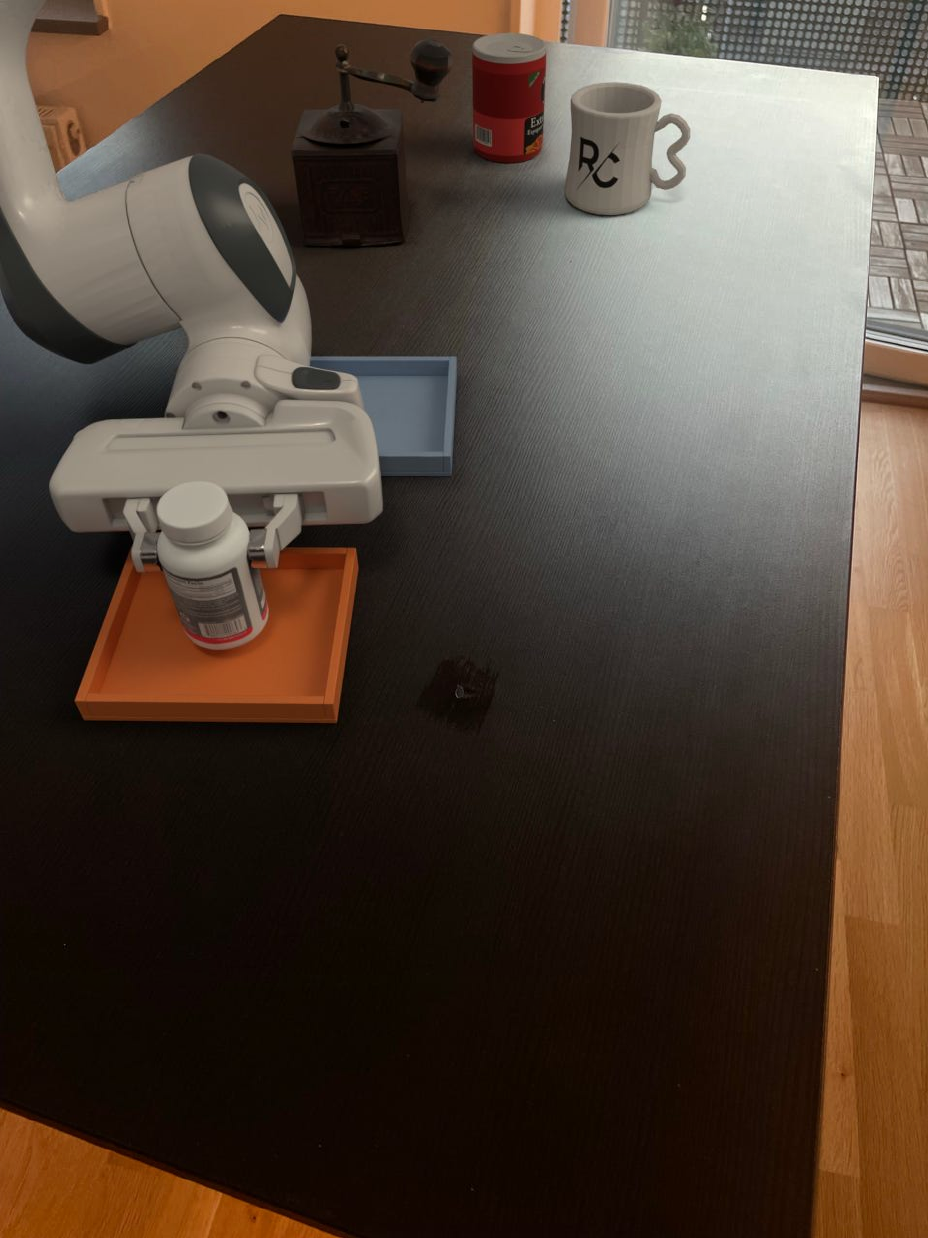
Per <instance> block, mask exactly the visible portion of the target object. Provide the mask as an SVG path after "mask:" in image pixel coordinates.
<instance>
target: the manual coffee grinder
mask: <svg viewBox="0 0 928 1238" xmlns="http://www.w3.org/2000/svg"><path fill="white" fill-rule="evenodd" d="M334 55H335V57H336V59H337V60H336V62H335V64H334V65H335V66H334V70H335V71H336V72H338V78H339V87H340V89H339V91H340V103H339V104H337V105H334V106H332V107H330V108H328V109H303V112H302V113H301V116H300V119H299V122H298V125H297V128H296V132H295V135H294V137H293V140H292V141H293V142H292V145H291V148H290V152H291V159H292V164H293V171H294V179H295V186H296V193H297V199H298V200H297V201H298V208H299V213H300V221H301V227H302V235H303V238H302V244H303V245H304V246H305V247H336V248H337V247H338V248H339V247H341V248H343V247H344V248H349V247H350V248H353V247H355V248H356V247H365V246H366V247H367V246H386V245H387V246H388V245H394V244H402V243H405V242H406V239H407V237H408V233H409V223H410V213H411V206H410V200H409V191H408V180H407V165H406V148H405V130H404V127H405V121H404V113H403V109H399V108H398V109H393V108H375V109H374V108H370V107H368V106H365V105H363V104H359V103H358V104H357V103H354V102H353V101H352V95H351V86H350V85H351V84H350V83H351V82H350V76H352V77H354V78H356V79H359V80H362V81H365V82H371V83H375V84H382V85H385V86H390V87H395V88H399V89H402V90H405V91H407V92H409V93H411V95H412V96H413V97H414V98H416V99H418V100H419V101H420V102H421V104H424V102H431V103H436V102H437V101H438V100H440V99H441V93H440V84H441V83H442V82H443V80H444V79H445V78H446V77H447V76H448V74H449V73H450V72H451V71H452V69H453V65H454V60H453V56H452V52H451V50H450V49H449V48H448V47H447V46H445V44H443V43H442V42H440V41H439V40H437V39H433V38H426V39H423V40H420V41H416V43H415V45H414V46H413V48H412V50H411V53H410V55H409V56H410V57H409V58H410V65H411V67H412V69H413V71H414V76H415V78H414V81H412V80H410V79H406V78H402V77H400V76H396V75H391V74H387V73H383V72H376V71H373V70H372V71H371V70H367V69H362V68H358V67H356V66H353V65H352V64H351V62H350V60H349V55H350V50H349V48H348V47H347V45H345V44H343V43H339V44H337V46H336V47H335V49H334Z"/></svg>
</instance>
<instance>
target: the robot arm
mask: <svg viewBox="0 0 928 1238" xmlns="http://www.w3.org/2000/svg"><path fill="white" fill-rule="evenodd" d="M46 2H47V0H0V292H1V296H2V299H3V302H4V305H5V307H6V310H7V311H8V313H9V315H10V317H11V318H12V320H13V322H14V323H15V324H16V326H17V327H18V329H19V330H20V331H21V333H23V335H25V336H26V337H27V338H28V339H29V340H31V341H32V342H33V343H34V344H37V345H38V346H39V347H42V348H43V349H45V350H46V351H49V352H51V353H53V354H55V355H57V356H59V357H61V358H63V359H67V360H69V361H72V362H76V363H78V364H82V365H94V364H97V363H98V362H101V361H103V360H105V359H108V358H109V357H112V356H115V355H116V354H119V353H121V352H123V351H125V350H127V349H129V348H133V347H134V346H135V345H137V344H138V343H139V342H142V341H145V340H148V339H151V338H154V337H157V336H161V335H163V334H167V333H168V332H169V333H170V332H172V331H175V330H179V329H181V328H182V329H183V331H184V332H185V333H186V336H187V337H186V342H185V343H186V344H185V354H184V355H183V357H182V359H181V360H180V363H179V365H178V368H177V371H176V374H175V378H174V381H173V385H172V388H171V392H170V395H169V398H168V401H167V405H166V408H165V412H164V417H144V418H111V419H104V420H98V421H96V422H93V423H90V424H88V425H87V426H85V427H84V428H82V429H81V430H78V431H77V432H76V433H75V435H74V436H73V439H72V441H71V443H70V444H69V445H68V446H67V448H66V450H65V452H64V453H63V455H62V457H61V458H60V459H59V462H58V464H57V465H56V466H55V469H54V471H53V473H52V475H51V477H50V479H49V484H48V489H49V494H50V497H51V500H52V503H53V506H54V508H55V511H56V512H57V514H58V517H59V518H60V520H61V521H62V522H63V524H64V525H65V526H66V528H68V529H69V530H70V531H71V532H73V533H107V532H108V533H109V532H129V533H130V536H131V539H132V541H133V544H132V546H131V547H132V550H131V554H132V560H133V563H134V566H135V568H136V571H137V572H138V573H141V572H162V571H163V569H162V566H161V564H160V561H159V557H158V553H157V542H158V538H159V535H160V533H161V531H162V529H161V526H160V523H159V520H158V516H157V504H158V502H159V500H160V498H161V497H162V496H163V495H164V494H165V493H166V492H167V491H169V490H170V489H172V488H174V487H176V486H178V485H180V484H183V483H187V482H194V481H203V482H210V483H213V484H216V485H218V486H219V487H221V488H222V489H223V490H224V491H225V493H226V495H227V497H228V500H229V503H230V506H231V508H232V512H234V513H235V514H237V515H238V516H239V517H241V518H242V519H243V521H244V522H245V523H246V525H247V527H248V528H255V529H250V530H249V532H250V537H249V538H250V542H249V543H248V556H249V559H250V560H251V563H250V565H251V568H252V569H263V568H277V567H278V560H279V553H280V550H283V549H284V548H285V547H287V546H288V545H289V544H290V543H292V541H294V540H295V539H296V538H297V537H298V536H299V535H300V534H301V533H302V527H303V526H325V525H326V526H328V525H329V526H330V525H365V524H368V523H369V524H370V523H371V522H373V521H374V520H376V519H377V518H378V517H379V516H380V515H381V514H382V513H383V511H384V499H383V486H382V485H383V483H382V476H381V473H380V464H379V456H378V448H377V442H376V437H375V432H374V428H373V424H372V421H371V419H370V417H369V416H368V414H367V413H366V412H365V409H364V404H363V399H362V394H361V390H360V386H359V383H358V380H357V378H356V377H355V376H353V375H351V374H348V373H343V372H337V371H330V370H325V369H320V368H315V367H310V359H311V357H312V346H313V345H312V343H313V334H312V333H313V332H312V331H313V329H312V317H311V310H310V305H309V300H308V297H307V293H306V289H305V287H304V285H303V283H302V281H301V279H300V277H299V276H298V274H297V265H296V260H295V256H294V253H293V250H292V247H291V244H290V242H289V241H290V240H289V238H288V236H287V234H286V231H285V228H284V226H283V224H282V222H281V219H280V218H279V216H278V214H277V212H276V210H275V208H274V206H273V205H272V204H271V202H270V200H269V199H268V197H267V196H266V194H265V192H264V191H263V190H262V189H261V187H260V186H259V185H257V184H256V183H255V182H254V181H253V180H251V179H250V178H249V177H247V175H245V174H244V173H242V172H241V171H239V170H238V169H237V168H235V167H233V166H232V165H230V164H228V163H227V162H226V161H223V160H221V159H219V158H217V157H215V156H212V155H209V154H206V153H202V152H197V153H194V154H193V155H189V156H186V157H183V158H181V159H178V160H174V161H172V162H169V163H166V164H163V165H161V166H158V167H155V168H153V169H150V170H147V171H144V172H142V173H139V174H137V175H134V176H132V177H131V178H130V179H128V180H125V181H121V182H118V183H116V184H113V185H111V186H108V187H106V188H103V189H100V190H98V191H97V190H96V191H95V192H92V193H90V194H89V193H88V194H87V195H84V196H81V197H79V198H76V199H71V200H68V199H67V198H66V196H65V195H64V194H63V191H62V189H61V186H60V183H59V179H58V176H57V172H56V169H55V166H54V163H53V159H52V155H51V151H50V148H49V145H48V142H47V141H48V140H47V138H46V135H45V132H44V128H43V125H42V121H41V118H40V114H39V111H38V106H37V104H36V101H35V97H34V94H33V90H32V86H31V84H30V80H29V74H28V67H27V49H28V44H29V39H30V36H31V33H32V29H33V26H34V24H35V22H36V19H37V17H38V16H39V14H40V13H41V10H42V8H43V7H44V5H45V4H46ZM157 531H160V532H157Z"/></svg>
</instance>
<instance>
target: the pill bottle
mask: <svg viewBox="0 0 928 1238" xmlns="http://www.w3.org/2000/svg"><path fill="white" fill-rule="evenodd" d="M157 516H158V520H159V523H160V526H161V529H162V530H160V532H161V533H160V535H159V538H158V542H157V553H158V557H159V561H160V564H161V566H162V569H163V572H164V574H165V578H166V581H167V583H168V586H169V589H170V592H171V595H172V597H173V601H174V604H175V606H176V609H177V612H178V614H179V617H180V620H181V623H182V625H183V628H184V631H185V633H186V635H187V636H188V637H189V638H190V639H191V640H192V641H193V643H195V644H197V645H198V646H201V647H204V648H208V649H212V650H226V649H232V648H235V647H239V646H242V645H244V644H246V643H248V642H249V641H251V640H253V639H254V638H255V637H256V636H257V635H258V634H259V633H260V632H261V631H262V629H263V628H264V626H265V624H266V622H267V620H268V605H267V601H266V596H265V592H264V589H263V585H262V581H261V577H260V573H259V569H252V568H251V565H250V563H251V560H250V559H249V556H248V543H249V542H250V538H249V537H250V530H249V527H247V525H246V523H245V522H244V521H243V519H242V518H241V517H239V516H238V515H237V514H235V513H234V512H232V508H231V506H230V503H229V500H228V497H227V495H226V493H225V491H224V490H223V489H222V488H221V487H219V486H218V485H216V484H213V483H210V482H203V481H194V482H187V483H183V484H180V485H178V486H176V487H174V488H172V489H170V490H169V491H167V492H166V493H165V494H164V495H163V496H162V497H161V498H160V500H159V502H158V504H157Z"/></svg>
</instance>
